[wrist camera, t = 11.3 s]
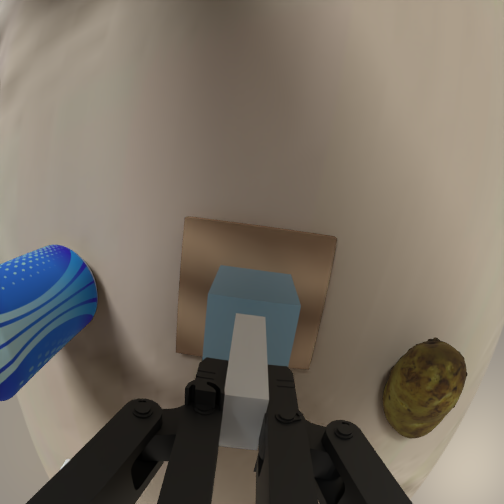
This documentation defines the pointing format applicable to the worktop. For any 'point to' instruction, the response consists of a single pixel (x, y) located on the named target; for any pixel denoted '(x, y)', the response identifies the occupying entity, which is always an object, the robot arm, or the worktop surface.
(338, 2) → the worktop surface
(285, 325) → the light blue chamfered box
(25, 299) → the beer can
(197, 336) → the tan square panel
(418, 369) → the brown oval lump
